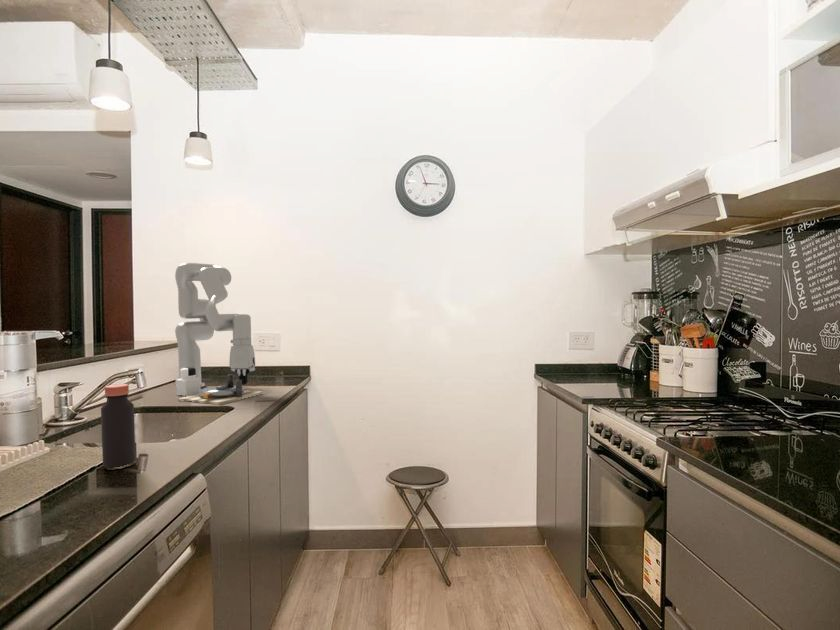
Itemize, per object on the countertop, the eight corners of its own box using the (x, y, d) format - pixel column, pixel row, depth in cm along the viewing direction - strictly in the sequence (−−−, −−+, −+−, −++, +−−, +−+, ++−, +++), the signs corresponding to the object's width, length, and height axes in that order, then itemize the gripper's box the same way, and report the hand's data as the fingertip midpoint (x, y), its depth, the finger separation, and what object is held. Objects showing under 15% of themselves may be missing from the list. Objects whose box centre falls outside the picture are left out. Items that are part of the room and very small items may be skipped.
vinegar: (98, 472, 112) (95, 389, 111) (108, 463, 118) (105, 384, 118) (131, 469, 114) (128, 387, 113) (139, 460, 120) (136, 382, 120)
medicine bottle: (191, 392, 213) (190, 366, 213) (201, 394, 209) (200, 367, 209) (176, 395, 207) (175, 368, 206) (186, 396, 203) (185, 369, 203)
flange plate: (184, 396, 194) (183, 380, 194) (223, 387, 213) (222, 373, 213) (215, 399, 187) (215, 382, 187) (253, 390, 205) (253, 375, 205)
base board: (177, 400, 195) (177, 381, 195) (223, 390, 217) (223, 373, 217) (220, 405, 185) (219, 384, 185) (263, 393, 207) (263, 375, 207)
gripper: (221, 343, 203) (222, 385, 204) (253, 343, 201) (255, 386, 201) (231, 341, 211) (232, 382, 211) (262, 341, 208) (263, 382, 209)
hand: (243, 384), depth 206 cm, fingers closed
